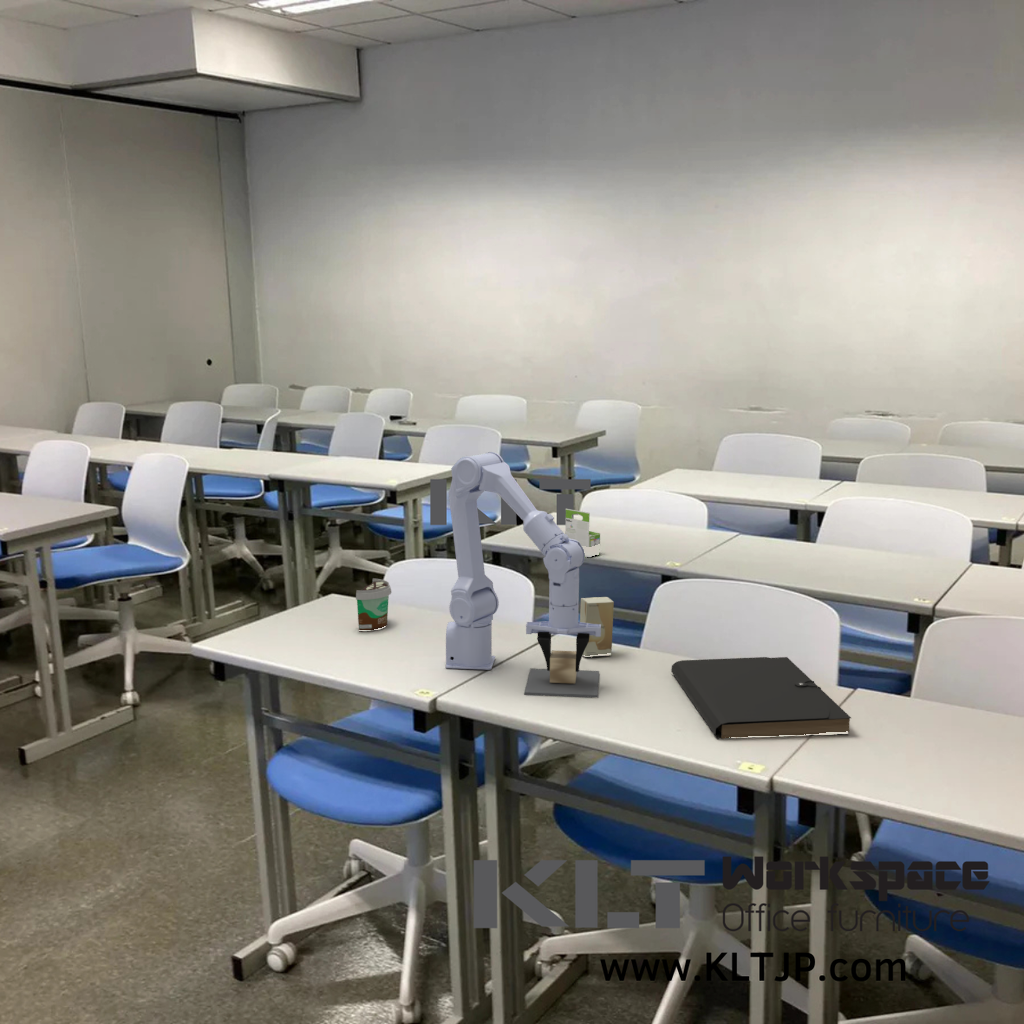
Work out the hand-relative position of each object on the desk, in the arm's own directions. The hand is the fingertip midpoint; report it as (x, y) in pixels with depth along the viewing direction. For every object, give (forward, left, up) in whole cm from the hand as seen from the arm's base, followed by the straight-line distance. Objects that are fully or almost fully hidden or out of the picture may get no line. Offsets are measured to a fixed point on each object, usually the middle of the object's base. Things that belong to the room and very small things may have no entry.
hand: (562, 669), depth 205 cm
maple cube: (0, +1, -2) cm, 2 cm away
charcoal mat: (0, 0, -3) cm, 3 cm away
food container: (-45, +34, -3) cm, 56 cm away
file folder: (+36, -6, -4) cm, 37 cm away
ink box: (0, +116, -3) cm, 116 cm away
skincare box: (+6, +19, -3) cm, 20 cm away
